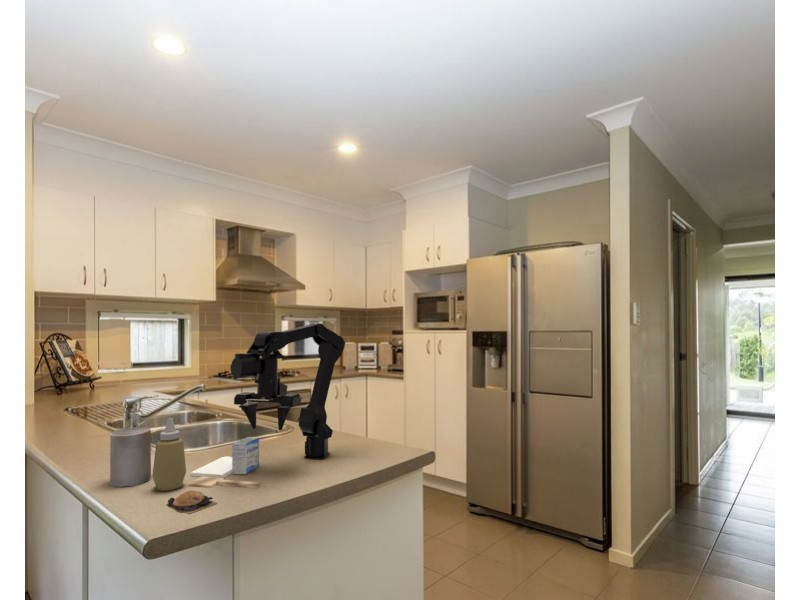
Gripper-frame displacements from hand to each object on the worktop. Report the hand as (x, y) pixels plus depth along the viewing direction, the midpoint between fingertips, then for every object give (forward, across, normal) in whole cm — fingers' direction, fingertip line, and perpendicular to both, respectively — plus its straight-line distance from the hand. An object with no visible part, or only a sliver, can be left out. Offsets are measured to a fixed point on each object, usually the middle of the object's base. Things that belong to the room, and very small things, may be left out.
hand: (267, 429), depth 136 cm
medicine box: (+12, +7, 0) cm, 14 cm away
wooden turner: (+12, +4, +12) cm, 18 cm away
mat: (+12, +14, 0) cm, 19 cm away
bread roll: (+13, +5, +26) cm, 29 cm away
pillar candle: (+12, +32, +16) cm, 38 cm away
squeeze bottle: (+12, +18, +17) cm, 28 cm away
